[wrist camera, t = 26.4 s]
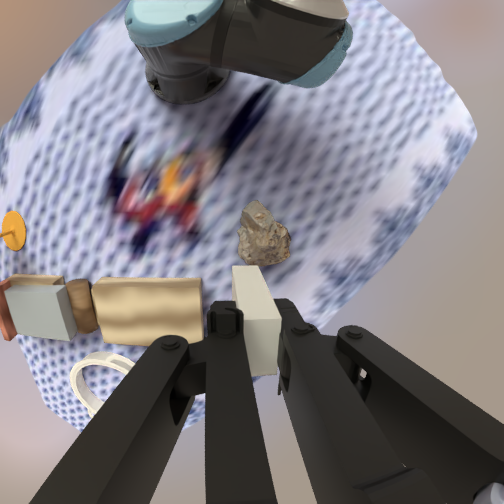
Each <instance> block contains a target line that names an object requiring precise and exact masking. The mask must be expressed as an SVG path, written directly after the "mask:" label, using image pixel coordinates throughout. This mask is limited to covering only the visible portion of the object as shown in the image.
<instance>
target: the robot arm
mask: <svg viewBox="0 0 504 504" xmlns="http://www.w3.org/2000/svg"><path fill="white" fill-rule="evenodd" d="M348 15H349V12H348V10H347V8H346V6H345V4H344V2H343V0H131V1H130V3H129V4H128V6H127V9H126V12H125V25H126V27H127V30H128V33H129V37H130V39H131V41H132V42H133V43H134V44H135V46H136V47H137V48H138V50H139V51H140V53H141V54H142V56H143V57H144V59H145V60H146V69H145V73H146V79H147V82H148V84H149V86H150V87H151V89H152V90H153V91H154V93H155V94H156V95H157V96H159V97H160V98H161V99H163V100H165V101H168V102H171V103H175V104H192V103H196V102H200V101H202V100H205V99H207V98H209V97H211V96H212V95H214V94H215V93H216V92H217V91H218V90H219V89H220V88H221V87H222V86H223V85H224V83H225V82H226V80H227V78H228V75H229V72H230V70H233V71H238V72H243V73H247V74H252V75H256V76H261V77H265V78H269V79H273V80H277V81H278V82H279V83H281V84H291V85H295V86H299V87H302V88H315V87H318V86H320V85H322V84H323V83H325V82H326V81H327V80H328V79H330V78H331V77H332V75H333V74H334V73H335V72H336V71H337V69H338V68H339V67H340V65H341V64H342V62H343V60H344V59H345V57H346V54H347V53H346V50H347V49H348V48H349V47H350V45H351V42H352V37H353V31H352V28H351V26H350V24H349V23H348V22H347V21H346V19H347V17H348ZM207 330H208V336H207V337H206V338H205V339H203V340H201V341H199V342H195V343H190V344H189V343H188V341H187V339H185V338H184V337H182V336H178V335H164V336H162V337H159V338H157V339H156V340H154V341H153V342H152V344H151V345H150V346H149V347H148V349H147V350H146V351H145V352H144V354H143V355H142V356H141V357H140V359H139V360H138V361H137V362H136V364H135V365H134V366H133V367H132V369H131V370H130V371H129V372H128V374H127V375H126V376H125V377H124V379H123V380H122V381H121V382H120V384H119V385H118V386H117V387H116V389H115V390H114V391H113V392H112V394H111V395H110V396H109V398H108V399H107V400H106V401H105V403H104V404H103V405H102V406H101V408H100V409H99V410H98V412H97V413H96V414H95V415H94V417H93V418H92V419H91V421H90V422H89V423H88V425H87V426H86V427H85V428H84V430H83V431H82V432H81V434H80V435H79V436H78V438H77V439H76V440H75V442H74V443H73V444H72V446H71V447H70V448H69V449H68V451H67V452H66V453H65V455H64V456H63V458H62V459H61V460H60V462H59V463H58V464H57V466H56V467H55V468H54V470H53V471H52V472H51V474H50V475H49V477H48V478H47V479H46V481H45V482H44V483H43V485H42V486H41V487H40V489H39V490H38V492H37V493H36V494H35V496H34V497H33V499H32V500H31V501H30V503H29V504H149V503H150V501H151V499H152V496H153V494H154V492H155V490H156V487H157V485H158V483H159V481H160V478H161V476H162V474H163V471H164V469H165V467H166V465H167V462H168V460H169V458H170V455H171V453H172V451H173V448H174V446H175V444H176V442H177V439H178V437H179V435H180V433H181V430H182V428H183V426H184V423H185V421H186V419H187V416H188V414H189V412H190V410H191V407H192V405H193V403H194V400H195V395H199V394H203V393H206V395H205V486H206V504H278V502H277V499H276V495H275V490H274V485H273V481H272V476H271V472H270V467H269V463H268V458H267V453H266V448H265V443H264V438H263V433H262V429H261V424H260V418H259V414H258V408H257V403H256V398H255V393H254V388H253V382H252V377H251V376H265V375H276V374H277V367H279V370H280V376H279V385H278V395H280V394H281V390H282V393H283V396H284V400H285V403H286V406H287V409H288V412H289V416H290V419H291V422H292V426H293V429H294V432H295V435H296V438H297V442H298V444H299V448H300V451H301V454H302V457H303V461H304V464H305V467H306V470H307V473H308V476H309V479H310V482H311V486H312V489H313V492H314V495H315V498H316V501H317V504H504V424H502V423H501V422H499V421H498V420H496V419H495V418H493V417H492V416H491V415H489V414H488V413H486V412H485V411H483V410H482V409H481V408H479V407H478V406H476V405H475V404H473V403H472V402H470V401H469V400H468V399H466V398H464V397H463V396H462V395H460V394H459V393H457V392H456V391H454V390H453V389H452V388H450V387H449V386H447V385H446V384H444V383H443V382H441V381H440V380H439V379H437V378H436V377H434V376H433V375H431V374H430V373H428V372H427V371H426V370H424V369H423V368H421V367H420V366H418V365H417V364H415V363H414V362H412V361H411V360H410V359H408V358H407V357H405V356H404V355H402V354H401V353H399V352H398V351H396V350H395V349H394V348H392V347H391V346H389V345H388V344H386V343H385V342H384V341H382V340H381V339H379V338H378V337H376V336H375V335H373V334H372V333H370V332H369V331H367V330H366V329H364V328H362V327H358V326H353V325H349V326H344V327H342V328H340V329H339V331H338V334H337V336H329V335H321V334H320V332H319V331H318V329H317V328H316V327H315V326H314V325H312V324H310V323H306V322H304V320H303V318H302V316H301V315H300V313H299V312H298V310H297V308H296V306H295V305H294V303H293V302H291V301H290V300H288V299H287V298H284V299H273V298H272V296H271V294H270V291H269V289H268V287H267V285H266V283H265V280H264V278H263V276H262V274H261V272H260V269H259V267H258V265H255V266H232V301H215V302H214V303H213V304H212V305H211V306H210V310H209V311H208V313H207ZM362 369H364V370H365V371H366V372H367V374H366V377H365V378H363V377H361V376H360V373H361V370H362ZM404 466H406V467H407V468H406V467H404Z"/></svg>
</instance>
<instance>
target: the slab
mask: <svg viewBox="0 0 504 504" xmlns="http://www.w3.org/2000/svg"><path fill="white" fill-rule="evenodd" d="M4 293H5V297H6V300H7V304H8V307H9V310H10V313H11V316H12V319H13V322H14V325H15V328H16V331H17V333H18V334H20V335H26V336H33V337H40V338H47V339H56V340H65V341H71V339H72V338H73V337H74V336H75V334H76V333H77V332H78V329H77V326H76V322H75V319H74V316H73V312H72V308H71V305H70V301H69V297H68V293H67V288H66V285H13V286H12V287H10V288H8V289H7V290H5V291H4Z"/></svg>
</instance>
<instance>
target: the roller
mask: <svg viewBox="0 0 504 504" xmlns="http://www.w3.org/2000/svg"><path fill="white" fill-rule="evenodd" d="M65 285H66V288H67V293H68V297H69V301H70V305H71V308H72V312H73V316H74V319H75V322H76V326H77V329H78V332H79V333H81V334H88V333H91V332H94V331H95V330H97V329H98V322H97V319H96V315H95V311H94V307H93V303H92V298H91V294H90V289H89V284H88V280H87V279H75V280H72V281H69V282H67V283H66V284H65Z"/></svg>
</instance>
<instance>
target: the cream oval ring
mask: <svg viewBox="0 0 504 504" xmlns="http://www.w3.org/2000/svg"><path fill="white" fill-rule="evenodd" d="M88 365H103V366H107V367H110V368H114V369H116V370H118V371H120V372H122V373H124V374H126V375H127V374H128V372H129V371H130V370H131V369H132V367H133V366H134V365H135V363H134V362H132V361H131V360H129V359H128V358H125V357H123V356H121V355H118V354H115V353H111V352H104V351H103V352H94V353H90V354H89V355H87V356H86V357H85V358H84V359H83V360H81V361H80V362H78V363H76V364H75V365H74V366H73V367H72V370H71V372H70V383H71V386H72V389H73V391H74V393H75V395H76V396H77V398H78V399H79V400H80V401H81V403H82V404H83V405H84V406H85V407H86V408H87V409H88V413H89V415H90V417H91V418H93V417H94V416H92V413H91V412H93V413H94V414H96V413H97V412H98V410H99V409H100V408H101V406H102V405H103V404H104V403H105V402H103V401H101V400H100V399H99V398H98V397H96V396H95V395H94V394H93V393H92V392H91V390H90V389H89V388H88V387H87V385H86V383H85V381H84V378H83V375H82V368H83V367H85V366H88Z"/></svg>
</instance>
